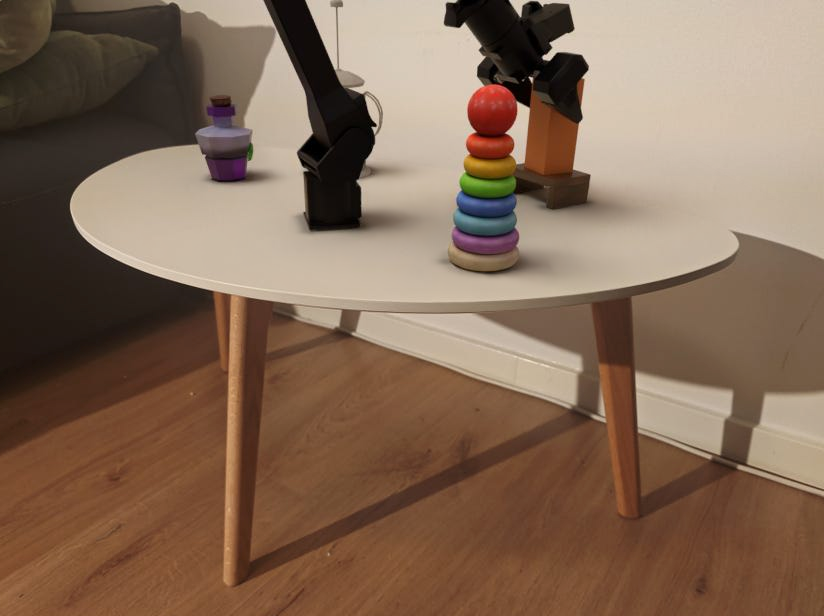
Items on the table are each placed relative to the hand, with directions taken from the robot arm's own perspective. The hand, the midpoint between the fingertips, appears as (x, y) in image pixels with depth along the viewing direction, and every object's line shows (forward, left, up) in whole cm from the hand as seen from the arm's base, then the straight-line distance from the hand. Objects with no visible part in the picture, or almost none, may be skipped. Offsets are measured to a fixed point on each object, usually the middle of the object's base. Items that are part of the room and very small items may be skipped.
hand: (559, 115), depth 97 cm
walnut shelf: (-1, 0, -11) cm, 11 cm away
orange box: (-1, 0, -7) cm, 7 cm away
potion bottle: (-45, +19, -12) cm, 51 cm away
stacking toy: (-19, -23, -12) cm, 32 cm away
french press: (-27, +20, -12) cm, 35 cm away
